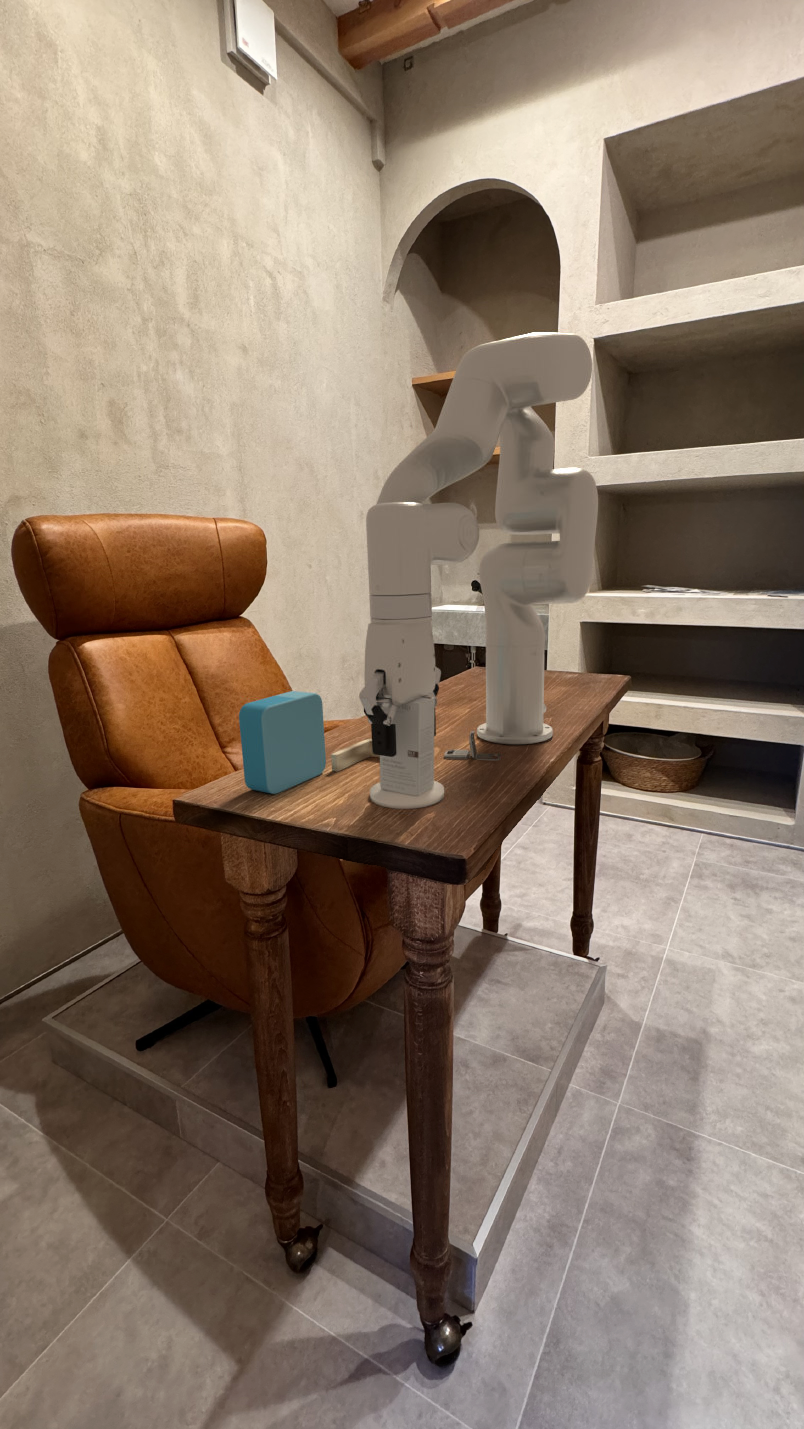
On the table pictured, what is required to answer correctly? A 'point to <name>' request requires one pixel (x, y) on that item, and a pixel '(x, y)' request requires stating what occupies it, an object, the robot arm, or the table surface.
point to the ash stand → (352, 755)
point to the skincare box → (411, 749)
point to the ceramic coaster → (406, 797)
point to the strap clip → (466, 753)
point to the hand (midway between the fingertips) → (405, 745)
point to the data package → (282, 741)
